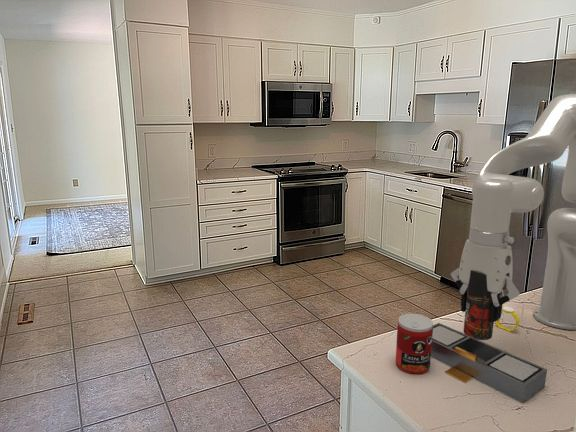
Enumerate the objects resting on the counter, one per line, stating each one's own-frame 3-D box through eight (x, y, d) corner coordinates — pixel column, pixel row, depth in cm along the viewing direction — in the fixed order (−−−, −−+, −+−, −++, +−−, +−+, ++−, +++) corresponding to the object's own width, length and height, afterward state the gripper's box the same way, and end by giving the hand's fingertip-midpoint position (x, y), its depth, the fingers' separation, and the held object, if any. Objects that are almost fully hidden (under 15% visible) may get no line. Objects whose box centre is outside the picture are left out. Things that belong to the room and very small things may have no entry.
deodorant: (457, 329, 101) (463, 267, 97) (479, 325, 103) (485, 264, 99) (476, 341, 95) (483, 276, 92) (498, 337, 97) (506, 273, 94)
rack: (437, 336, 114) (438, 319, 113) (544, 386, 93) (547, 365, 92) (406, 351, 107) (407, 333, 106) (514, 409, 86) (517, 386, 85)
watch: (518, 332, 117) (523, 312, 115) (513, 335, 115) (518, 315, 113) (496, 322, 121) (500, 303, 120) (491, 325, 120) (495, 306, 118)
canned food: (399, 375, 97) (402, 329, 95) (391, 355, 105) (394, 313, 103) (434, 375, 97) (438, 329, 95) (424, 355, 105) (427, 313, 103)
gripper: (538, 243, 89) (527, 325, 93) (461, 226, 103) (455, 298, 107) (520, 250, 85) (509, 335, 89) (442, 231, 99) (436, 306, 103)
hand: (479, 314), depth 98 cm, fingers closed on deodorant, 5 cm apart
